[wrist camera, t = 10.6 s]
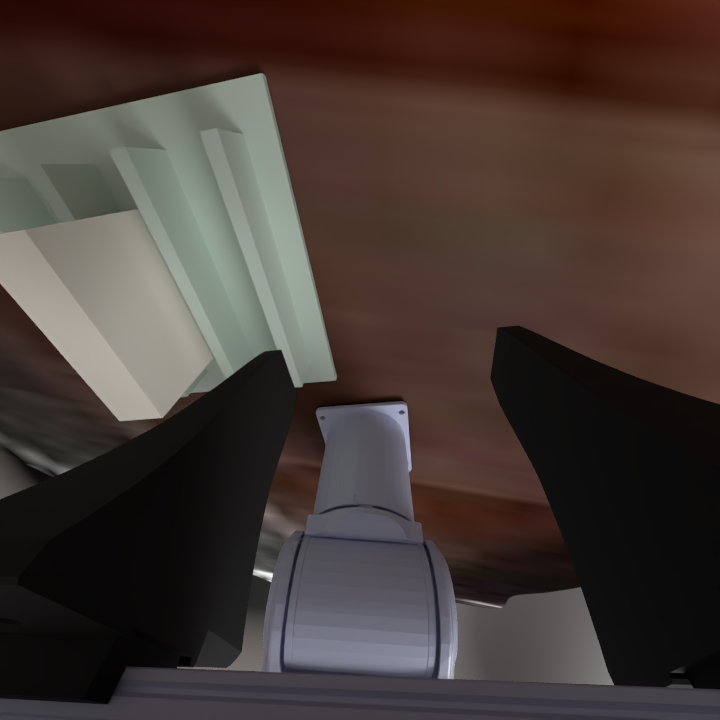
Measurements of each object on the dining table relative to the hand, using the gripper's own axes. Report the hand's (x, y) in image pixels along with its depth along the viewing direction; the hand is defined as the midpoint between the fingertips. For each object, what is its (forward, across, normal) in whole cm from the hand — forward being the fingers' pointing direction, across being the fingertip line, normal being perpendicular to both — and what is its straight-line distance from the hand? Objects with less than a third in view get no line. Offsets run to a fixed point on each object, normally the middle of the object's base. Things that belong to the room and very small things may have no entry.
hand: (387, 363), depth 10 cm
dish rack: (+10, +13, -1) cm, 17 cm away
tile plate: (+10, +13, -1) cm, 16 cm away
